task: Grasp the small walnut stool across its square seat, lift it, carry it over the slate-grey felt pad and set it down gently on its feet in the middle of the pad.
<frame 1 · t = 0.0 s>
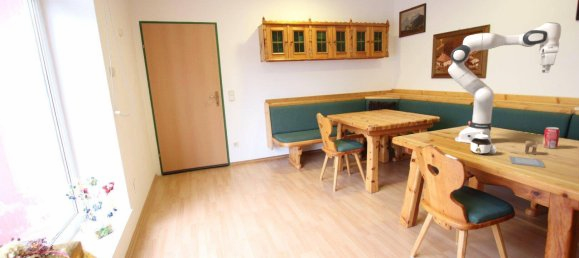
hand: (545, 72, 177), 48 cm above the table, fingers open, 8 cm apart
soda can: (549, 147, 183), on the table
pad: (526, 161, 159), on the table
spread jar: (483, 153, 177), on the table
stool: (530, 153, 173), on the table
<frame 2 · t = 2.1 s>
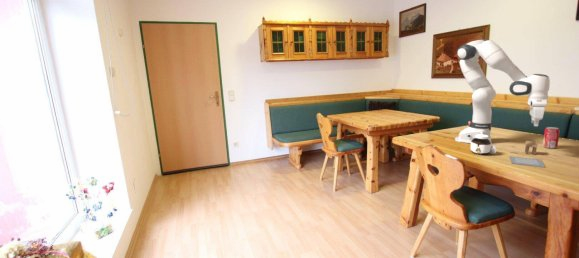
hand: (534, 124, 169), 18 cm above the table, fingers open, 8 cm apart
nothing on the table moved.
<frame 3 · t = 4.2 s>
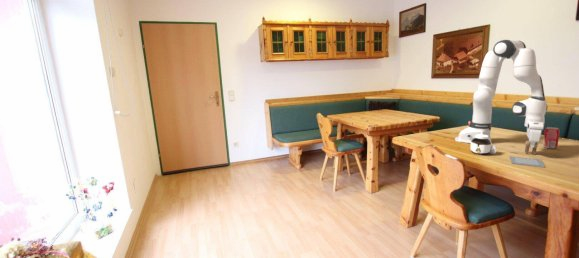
hand: (531, 145, 172), 5 cm above the table, fingers closed on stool, 5 cm apart
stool: (530, 153, 173), on the table, touching gripper
everything else where it was.
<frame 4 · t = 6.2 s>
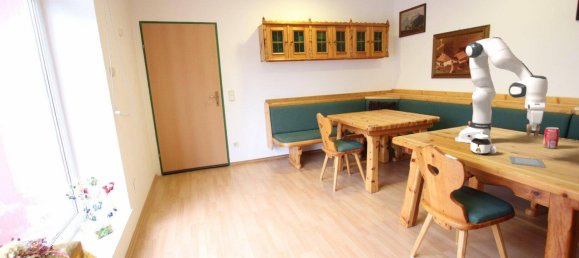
hand: (532, 129, 159), 18 cm above the table, fingers closed on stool, 5 cm apart
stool: (532, 137, 160), point 13 cm above the table, touching gripper
everything else where it was.
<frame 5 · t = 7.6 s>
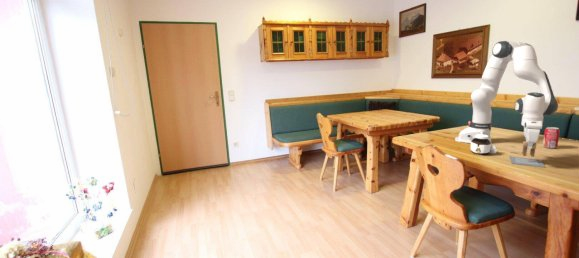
hand: (528, 146, 157), 9 cm above the table, fingers closed on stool, 5 cm apart
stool: (528, 155, 158), point 4 cm above the table, touching gripper
everything else where it was.
when the fingers open (6 cm above the table, at t = 8.5 s): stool stays where it is, resting on pad.
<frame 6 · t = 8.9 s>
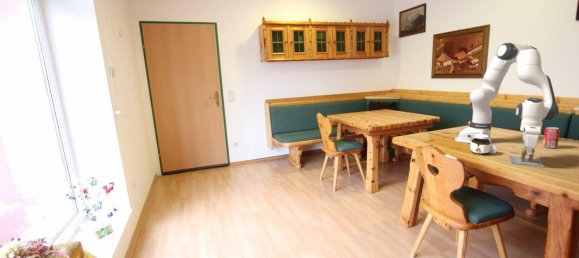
hand: (527, 151, 158), 6 cm above the table, fingers open, 8 cm apart
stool: (526, 161, 159), resting on pad
everything else where it was.
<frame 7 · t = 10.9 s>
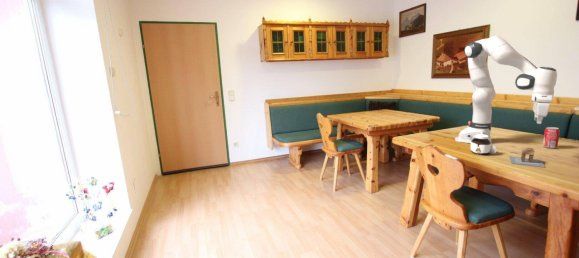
hand: (537, 122, 157), 22 cm above the table, fingers open, 8 cm apart
nothing on the table moved.
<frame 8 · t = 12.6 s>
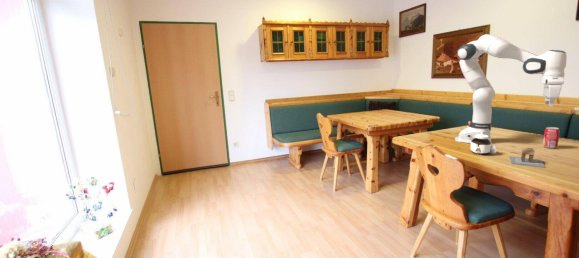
hand: (548, 105, 158), 31 cm above the table, fingers open, 8 cm apart
nothing on the table moved.
at the end: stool inside the target area on the pad (0.2 cm from its centre), point 0.5 cm above the pad's base; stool tilted 0°; the gripper is holding nothing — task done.
